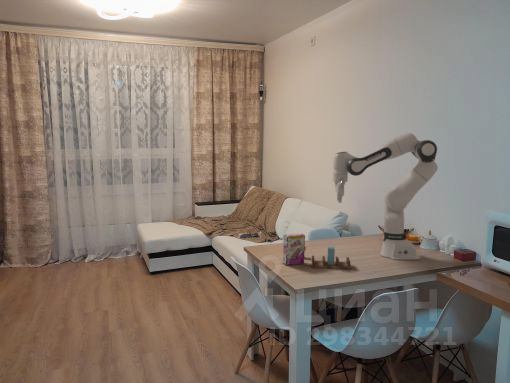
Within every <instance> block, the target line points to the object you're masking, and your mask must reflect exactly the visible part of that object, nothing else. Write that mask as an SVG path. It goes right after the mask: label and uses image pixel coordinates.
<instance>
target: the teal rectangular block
mask: <svg viewBox="0 0 510 383" xmlns="http://www.w3.org/2000/svg"><path fill="white" fill-rule="evenodd" d="M335 251H336V250H335V246H327V258H326V261H327V265H334V261H335V253H336V252H335Z"/></svg>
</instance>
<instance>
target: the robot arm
mask: <svg viewBox="0 0 510 383" xmlns="http://www.w3.org/2000/svg"><path fill="white" fill-rule="evenodd" d="M437 152H438V147H437V144H436V142H434V141H432V140H430V139H426V140H418V139H417V136H416V135H415V134H414V133H412V132H407V133H404V134H399V135H398V136H395V137H393V138H391V139H389V140H388V141H386V142H384V143H383V144H382V145H381V147H379V149H377V150H376V151H374V152H372V153H370V154H368V155H366V156H363V157H357V156H354V155H352V154H350V153H348V151H340V152H337V153H335V154H334V156H333V160H332V164H333V165H332V168H333V171H332V182H334V189H335V190H334V191H335V193H336V196H337V197H336V198H337V201H338V202H337V203H339V204H341V203H342V200H343V197H344V196H345V185H346V183H348V181H349V180H348V177H349V174H350V175H351V176H353V177H354V176H360V175H362V174H363V173H364V172H365V171H366V170H367V169H368V168H370V167H372V166H374V165H376V164H377V163H378V164H379V163H380V162H383V161H387V160H392V159H396V158H399V157H402V156H403V155H405V154H408V153H411V154H412V155H413V156H414V157H415V158H416V159H418V162H417V164H416V165H415V166H414V167H413V168H412V169H411V170H410V171H409V172H408V173H407V174H406V175H405V176H404V177H403V178H402V179H401V181H400V183H399V184H398V185H397V186H396V188H395V189H394V188H393V189H389V190H388V191H386V193H385V194H384V200H383V201H384V202H383V203H384V204H383V207H384V211H383V212H384V226H383V227H384V228H383V231H382V232H383V233H382V246H381V250H380V253H379V254H380V256H382V257H384V258H388V259H392V260H396V261H397V260H421V255H420V254H419V253H418V252H417V248H416V245H414V244H413V243H412V242H411V241H410V240H408V239H409V238H410V234H407V233H405V232H404V231H405V212H404V210H405V208H407V206H408V205H409V204H410V202H411V201H412V200H413V199H414V197H415V196H416V195H417V194H418V192H419V191H420V190H421V189H422V188H423V187H424V186H425V185H426V184H427V183H428V182H429V181H430V180H431V179H433V177H434V175H435V174H436V173H437V171H438V169H439V166H438V164H437V162H436V161H435V160H436V157H437Z"/></svg>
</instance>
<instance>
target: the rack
mask: <svg viewBox="0 0 510 383" xmlns="http://www.w3.org/2000/svg"><path fill="white" fill-rule="evenodd" d="M345 258H346V260H345V261H340V259H339V256H335V260H334V265H327V260H326V256H325V255H323V256H322V258H321V259H322V260H316V259H315V255H311V268H313V269H327V270H328V269H329V270H348V271H350V270H351V260H350V257H349V256H347V257H345Z"/></svg>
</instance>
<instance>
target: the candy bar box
mask: <svg viewBox="0 0 510 383" xmlns="http://www.w3.org/2000/svg"><path fill="white" fill-rule="evenodd" d="M305 243H306V235H305V234H303V233H300V232H299V233H289V234H283V244H282V246H283V248H282V264H284V266H293V265H302V264H303V265H304V264H305V252H304V250H305V247H306V245H305ZM305 251H306V250H305Z"/></svg>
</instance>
